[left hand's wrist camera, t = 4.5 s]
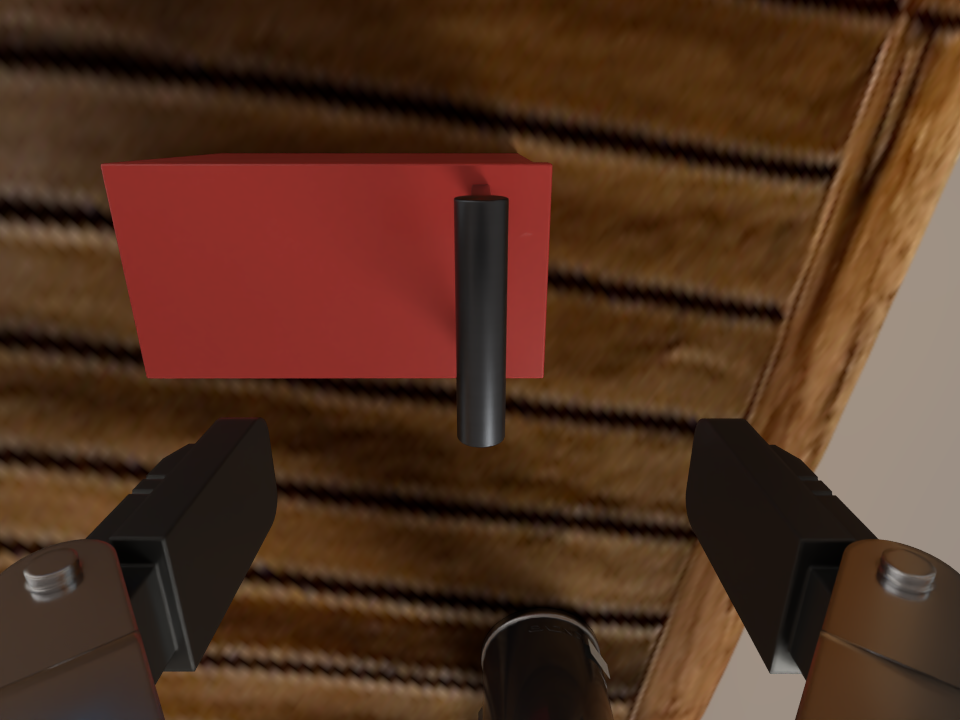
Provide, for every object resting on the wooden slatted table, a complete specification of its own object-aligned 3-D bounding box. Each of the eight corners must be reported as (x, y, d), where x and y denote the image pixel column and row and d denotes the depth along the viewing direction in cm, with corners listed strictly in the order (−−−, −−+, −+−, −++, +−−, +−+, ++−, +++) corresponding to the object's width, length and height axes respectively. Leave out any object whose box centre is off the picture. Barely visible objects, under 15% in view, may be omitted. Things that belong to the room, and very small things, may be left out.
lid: (549, 162, 24) (583, 177, 16) (541, 370, 28) (566, 464, 20) (113, 162, 24) (-60, 177, 16) (158, 370, 28) (30, 465, 20)
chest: (518, 153, 34) (534, 162, 24) (515, 306, 37) (527, 369, 28) (220, 153, 34) (114, 162, 24) (243, 306, 37) (158, 370, 28)
